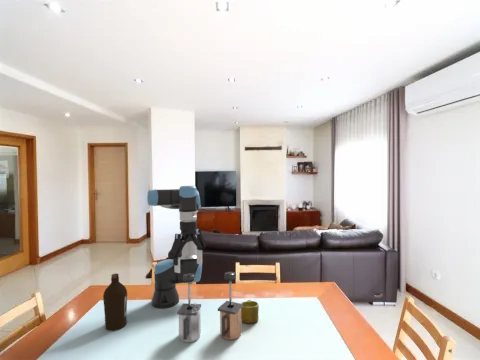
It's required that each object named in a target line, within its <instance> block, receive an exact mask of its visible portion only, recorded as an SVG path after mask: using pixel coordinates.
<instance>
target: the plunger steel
mask: <svg viewBox="0 0 480 360" xmlns="http://www.w3.org/2000/svg"><path fill="white" fill-rule="evenodd" d="M183 280H184V281H185V282H188V283H187V285H188V286H187V297H188V298H187V299H188V303H187V304H188V310H191V304H192V303H191V294H192V293H191V283H190V282H191V281H194V280H195V274H193V273H187V274H184V275H183Z"/></svg>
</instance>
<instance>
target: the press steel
mask: <svg viewBox="0 0 480 360" xmlns="http://www.w3.org/2000/svg"><path fill="white" fill-rule="evenodd" d="M201 308H202V303H191V310H188V303H182V304H181V306H180V307H179V309H178V310H177V312H176V313H177V314H176V315H177V316H178V337H179V340H180V341H181V342H183V343H186V344H187V343H189V344H190V343H194V342H197V341H198V340H199V339H200V338H201V334H202V333H201V331H202V329H201V321H202V320H201Z"/></svg>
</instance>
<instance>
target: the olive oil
mask: <svg viewBox="0 0 480 360" xmlns="http://www.w3.org/2000/svg"><path fill="white" fill-rule="evenodd" d="M110 280H111V282H110V284H109V285H108V286H107V287H106V288H105V290H104V292H103V296H102V297H103V298H102V300H103V311H104V312H103V313H104V325H105V326H104V327H105V329H106V330H107V331H119V330H121V329H123V328H125V326H127V318H128V317H127V312H128V311H127V310H128V309H127V306H128V289H127V288H126V286H125V285H124V284H123V283H121V282H120V277H119V273H112V274H111V277H110Z"/></svg>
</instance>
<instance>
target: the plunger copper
mask: <svg viewBox="0 0 480 360" xmlns="http://www.w3.org/2000/svg"><path fill="white" fill-rule="evenodd" d="M236 277H237V274H236V272H235V271H226V272H224V279H225V280H227V281H228V283H229V285H228V286H229V287H228V289H229V290H228V293H229V294H228V297H229V299H228V301H229V308H232V302H233V300H232V298H233V297H232V296H233V295H232V292H233V291H232V286H233V285H232V284H233V283H232V281H235V280H236Z"/></svg>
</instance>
